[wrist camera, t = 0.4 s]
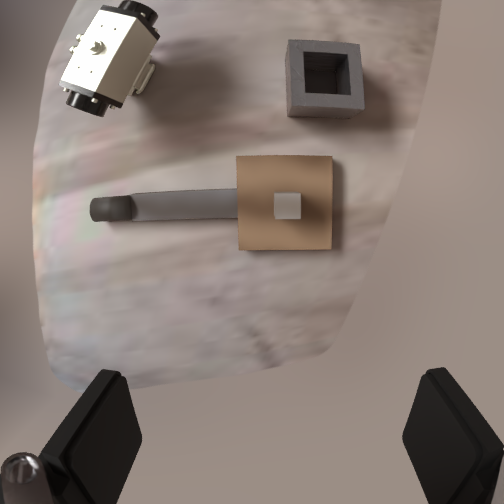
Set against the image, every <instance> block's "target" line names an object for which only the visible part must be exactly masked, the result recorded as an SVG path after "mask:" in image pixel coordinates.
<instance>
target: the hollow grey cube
mask: <svg viewBox="0 0 504 504" xmlns="http://www.w3.org/2000/svg"><path fill="white" fill-rule="evenodd" d="M285 67H286V92H287V117H326V118H345V119H350V118H351V117H353V116H355V115H356V114H358V113H360V112H361V111H363V110H365V104H364V88H363V75H362V64H361V54H360V44H352V43H342V42H330V41H315V40H288V46H287V52H286V57H285ZM304 70H322V71H336V85H337V94H320V93H305V78H304Z"/></svg>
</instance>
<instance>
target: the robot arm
mask: <svg viewBox="0 0 504 504" xmlns="http://www.w3.org/2000/svg"><path fill="white" fill-rule="evenodd" d="M402 437H403V438H402V439H403V443H404V446H405V448H406V450H407V453H408V455H409V457H410V460H411V462H412V464H413V467H414V469H415V471H416V474H417V476H418V479H419V481H420V483H421V486H422V488H423V491H424V493H425V496H426V498H427V501H428V503H429V504H504V450H503V448H504V445H503V443H502V442H501V441H500V439H499V438H498V436H497V435H496V434H495V432H494V431H493V429H492V428H491V427H490V425H489V424H488V423H487V421H486V420H485V419H484V417H483V416H482V415H481V413H480V412H479V410H478V409H477V408H476V406H475V405H474V404H473V402H472V401H471V400H470V399H469V397H468V396H467V395H466V393H465V392H464V391H463V390H462V388H461V387H460V386H459V385H458V383H457V382H456V381H455V379H454V378H453V377H452V375H451V374H450V373H449V372H448V370H447V369H446V368H444V367H441V368H435V369H429V370H427V372H426V374H424V375H423V376H422V377H421V380H420V383H419V387H418V390H417V393H416V396H415V399H414V402H413V405H412V408H411V412H410V414H409V417H408V420H407V423H406V426H405V428H404V431H403V435H402ZM141 443H142V434H141V431H140V427H139V424H138V421H137V417H136V414H135V411H134V407H133V404H132V400H131V396H130V392H129V388H128V384H127V380H126V378H125V377H124V376H122V375H121V373H120V372H118V371H112V370H105V369H103V370H101V371H100V372H99V373H98V375H97V376H96V377H95V379H94V380H93V381H92V382H91V384H90V385H89V386H88V388H87V389H86V390H85V392H84V393H83V394H82V396H81V397H80V398H79V400H78V401H77V403H76V404H75V405H74V407H73V408H72V409H71V411H70V412H69V413H68V415H67V416H66V417H65V419H64V420H63V422H62V423H61V424H60V426H59V427H58V429H57V430H56V431H55V433H54V434H53V436H52V437H51V438H50V440H49V441H48V443H47V444H46V445H45V447H44V448H43V450H42V451H41V453H40V455H39V456H38V457H37V456H36V455H34V454H32V453H27V452H20V453H16V454H13V455H11V456H10V457H8V458H7V459H6V460H5V461H4V462H3V464H2V466H1V474H0V504H116V503H117V501H118V499H119V496H120V494H121V491H122V489H123V486H124V484H125V482H126V479H127V477H128V474H129V472H130V470H131V467H132V465H133V462H134V460H135V458H136V455H137V453H138V451H139V448H140V446H141Z"/></svg>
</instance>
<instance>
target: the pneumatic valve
mask: <svg viewBox="0 0 504 504" xmlns="http://www.w3.org/2000/svg"><path fill="white" fill-rule="evenodd" d="M157 18H158V15H157V13H156V12H155V11H154V10H152V9H151V8H149V7H148V6H146V5H144V4H141V3H139V2H136V1H131V0H124V1H122V2H121V4H120V5H119V7H118V8H116V7H112V6H106V5H103V6H102V7H101V9H100V10H99V12H98V13H97V15H96V17H95V18H94V20H93V21H92V23H91V25H90V26H89V28H88V30H87V31H86V33H85V35H83V34H79V35H78V36H77V41H78V42H80V44H79V45H78V47H77V46H72V47H71V49H70V53H71V54H74V55H73V56H72V58H71V60H70V62H69V64H68V66H67V68H66V70H65V72H64V74H63V76H62V78H61V80H60V82H59V86H62V87H65V88H64V90H63V91H65V92H69V89H70V90H71V93H70V95H69V97H68V99H67V101H66V104H67V105H70V106H72V107H74V108H77V109H79V110H82V111H85V112H88V113H90V114H93V115H96V116H100V117H104V115H105V112H106V110H107V108H108V106H109V105H110V108H111V109H115V107H118V108H121V107H122V105H123V103H124V101H125V99H126V97H127V95H129V96H131V95H132V93H133V91H134V89H136V94H140V92H142V91H143V90H144V88H145V87H146V85H147V83H148V81H149V79H150V77H151V75H152V74H153V72H154V70H155V68H154V67H155V65H154V64H149V62H150V60H151V58H152V56H151V55H150V53H151V51H152V49H153V48H154V46H155V44H156V43H157V41H158V39H159V38H160V35H159V34H158V33H157V31H158V30H157V29H156V28H153V27H152V26H153V25H154V23H155V22H156V20H157ZM67 88H68V89H67Z"/></svg>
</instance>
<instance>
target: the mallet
mask: <svg viewBox="0 0 504 504" xmlns="http://www.w3.org/2000/svg"><path fill="white" fill-rule="evenodd" d="M236 162H237V189H209V190H186V191H167V192H150V193H136V194H131V195H127V196H114V197H102V198H94V199H92V201H91V204H90V215H91V218H92V220H93V221H95V222H100V221H119V220H132V221H145V220H171V219H203V218H238V240H239V250H312V249H331V243H332V156H304V155H265V156H236Z"/></svg>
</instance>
